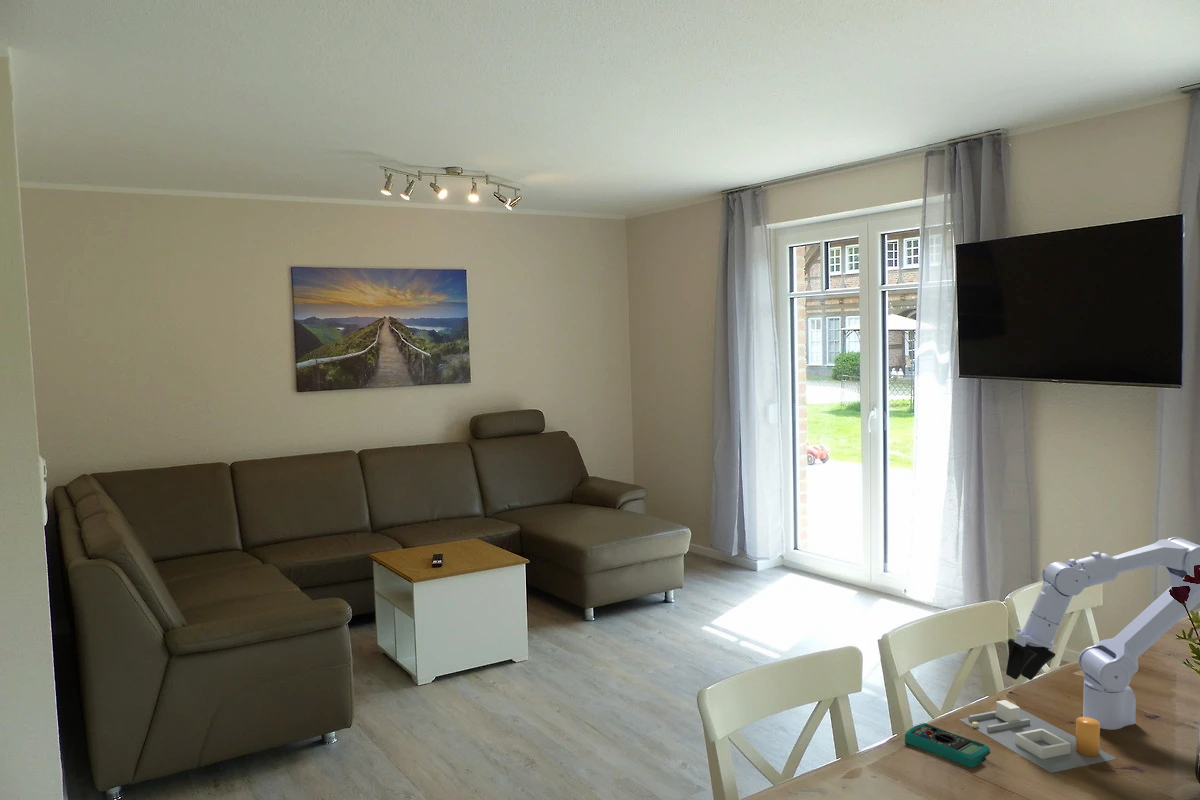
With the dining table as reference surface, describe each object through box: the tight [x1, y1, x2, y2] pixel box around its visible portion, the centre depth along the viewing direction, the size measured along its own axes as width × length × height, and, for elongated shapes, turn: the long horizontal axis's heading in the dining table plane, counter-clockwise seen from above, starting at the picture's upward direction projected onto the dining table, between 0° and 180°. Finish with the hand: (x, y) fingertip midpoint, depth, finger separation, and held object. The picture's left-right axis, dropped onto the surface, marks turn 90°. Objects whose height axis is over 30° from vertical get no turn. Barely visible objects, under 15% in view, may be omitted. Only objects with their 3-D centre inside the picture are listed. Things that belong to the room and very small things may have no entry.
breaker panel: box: [958, 708, 1118, 774], centre depth 172 cm, size 16×24×3 cm, turn 18°
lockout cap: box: [1075, 716, 1101, 757], centre depth 166 cm, size 4×4×6 cm
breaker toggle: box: [995, 699, 1021, 722], centre depth 180 cm, size 2×4×3 cm, turn 18°
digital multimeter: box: [904, 722, 991, 769], centre depth 170 cm, size 7×15×3 cm, turn 39°
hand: (1018, 677), depth 179 cm, fingers open, 7 cm apart
